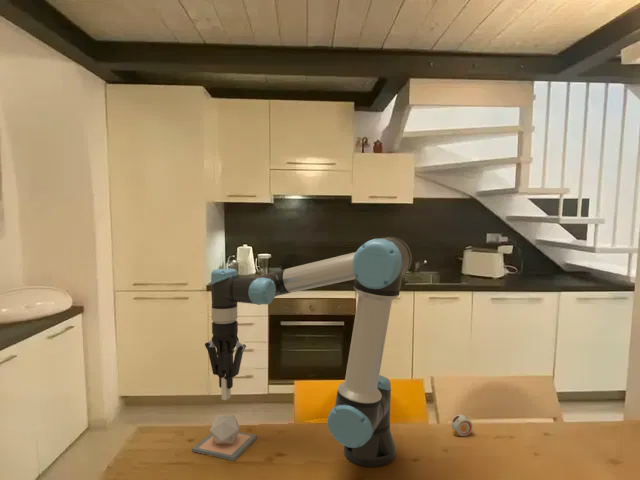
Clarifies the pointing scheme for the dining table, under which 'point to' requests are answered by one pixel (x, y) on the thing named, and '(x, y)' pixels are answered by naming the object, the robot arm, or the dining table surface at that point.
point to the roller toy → (461, 425)
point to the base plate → (225, 446)
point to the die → (225, 429)
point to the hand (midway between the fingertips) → (226, 398)
